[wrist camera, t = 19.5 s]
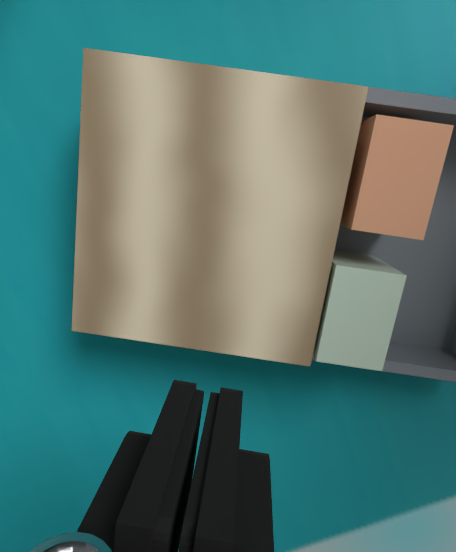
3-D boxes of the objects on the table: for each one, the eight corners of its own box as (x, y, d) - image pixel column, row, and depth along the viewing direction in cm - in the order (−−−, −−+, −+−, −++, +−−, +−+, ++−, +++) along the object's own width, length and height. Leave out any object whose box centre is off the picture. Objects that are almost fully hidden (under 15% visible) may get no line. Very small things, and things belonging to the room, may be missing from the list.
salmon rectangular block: (347, 129, 26) (407, 138, 26) (329, 219, 27) (385, 227, 27) (376, 114, 20) (453, 125, 20) (351, 229, 21) (423, 240, 21)
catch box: (524, 125, 25) (573, 114, 22) (452, 359, 30) (483, 386, 26) (343, 100, 26) (359, 85, 22) (297, 336, 30) (304, 359, 26)
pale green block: (317, 247, 28) (373, 255, 28) (302, 325, 29) (355, 333, 29) (336, 265, 22) (406, 275, 22) (316, 361, 23) (382, 371, 23)
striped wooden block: (341, 108, 26) (368, 86, 20) (298, 330, 30) (310, 366, 24) (120, 77, 26) (83, 48, 20) (106, 301, 30) (71, 330, 24)
